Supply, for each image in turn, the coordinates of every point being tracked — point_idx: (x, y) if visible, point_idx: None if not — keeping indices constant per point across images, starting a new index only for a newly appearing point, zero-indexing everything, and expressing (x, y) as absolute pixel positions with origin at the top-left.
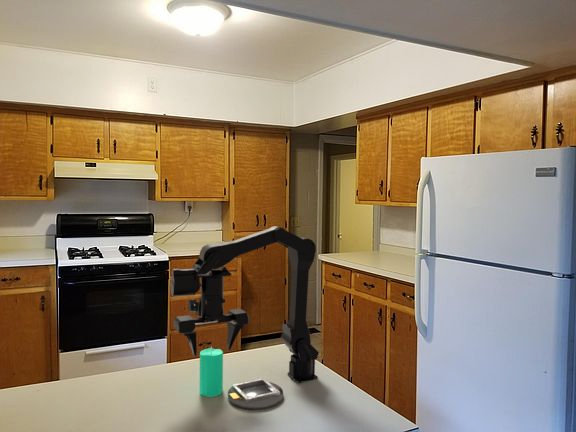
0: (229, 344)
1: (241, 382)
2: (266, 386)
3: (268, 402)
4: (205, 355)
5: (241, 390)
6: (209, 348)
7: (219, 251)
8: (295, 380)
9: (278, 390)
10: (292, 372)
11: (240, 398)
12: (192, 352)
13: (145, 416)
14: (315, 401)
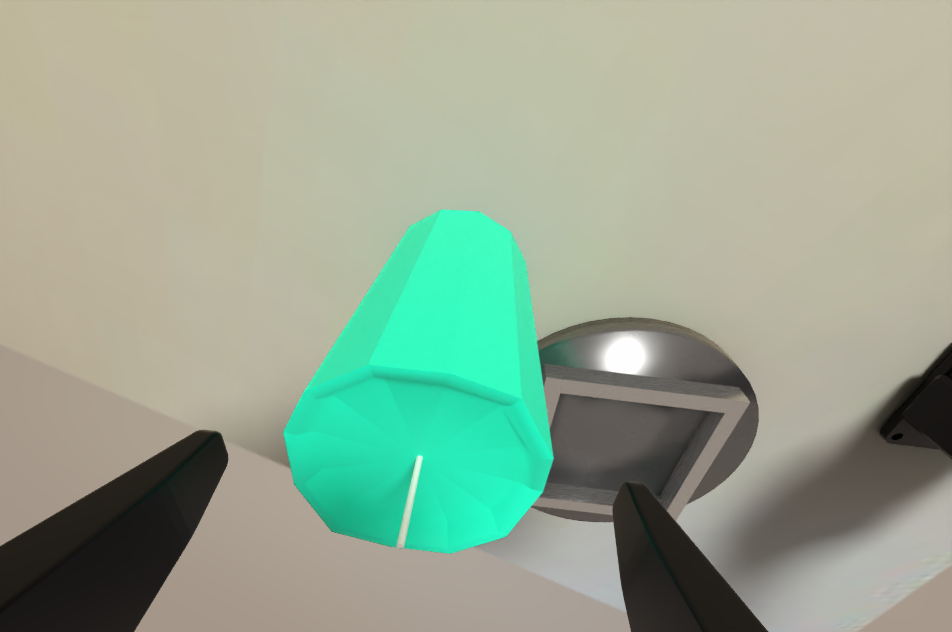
0: (628, 605)
1: (637, 331)
2: (695, 435)
3: (589, 516)
4: (320, 514)
5: (570, 402)
6: (441, 382)
7: None
8: (895, 415)
9: (679, 514)
10: (937, 430)
11: None
12: (167, 450)
13: (107, 327)
14: (749, 542)
